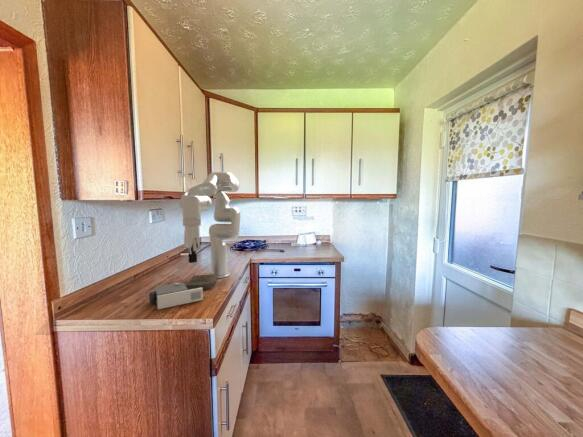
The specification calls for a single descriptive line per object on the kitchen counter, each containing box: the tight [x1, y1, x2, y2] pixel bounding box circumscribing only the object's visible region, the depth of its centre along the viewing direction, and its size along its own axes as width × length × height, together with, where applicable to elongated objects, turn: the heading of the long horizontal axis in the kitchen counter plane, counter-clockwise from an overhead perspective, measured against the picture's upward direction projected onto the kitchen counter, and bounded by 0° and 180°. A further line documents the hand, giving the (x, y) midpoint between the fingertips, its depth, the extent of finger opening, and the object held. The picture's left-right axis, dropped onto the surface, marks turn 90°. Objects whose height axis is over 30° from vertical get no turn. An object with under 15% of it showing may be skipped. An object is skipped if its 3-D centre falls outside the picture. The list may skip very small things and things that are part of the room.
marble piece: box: [183, 274, 218, 291], centre depth 129 cm, size 17×15×4 cm
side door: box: [157, 288, 204, 310], centre depth 104 cm, size 1×18×6 cm, turn 124°
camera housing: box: [148, 281, 188, 310], centre depth 108 cm, size 12×14×7 cm
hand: (192, 262), depth 111 cm, fingers closed
